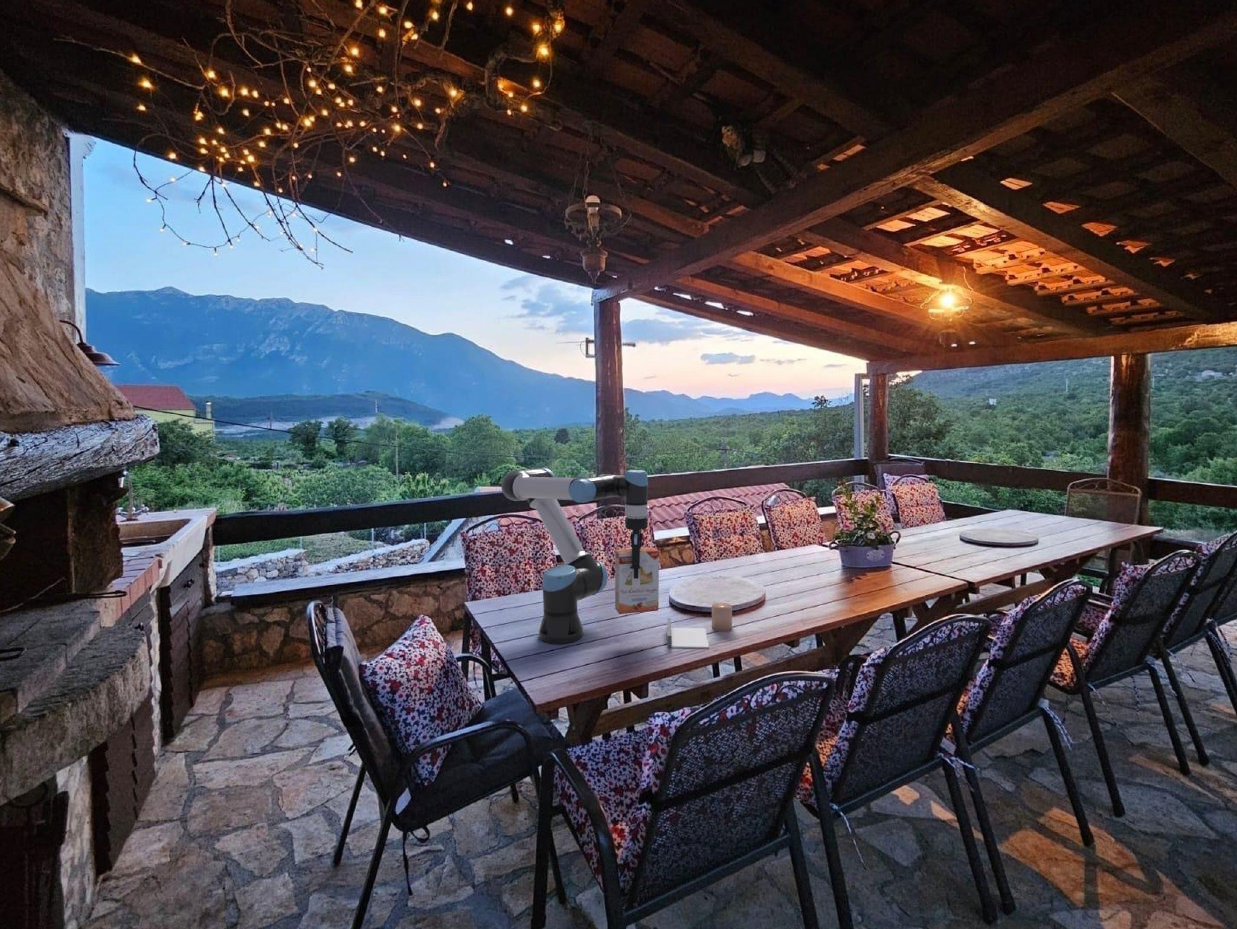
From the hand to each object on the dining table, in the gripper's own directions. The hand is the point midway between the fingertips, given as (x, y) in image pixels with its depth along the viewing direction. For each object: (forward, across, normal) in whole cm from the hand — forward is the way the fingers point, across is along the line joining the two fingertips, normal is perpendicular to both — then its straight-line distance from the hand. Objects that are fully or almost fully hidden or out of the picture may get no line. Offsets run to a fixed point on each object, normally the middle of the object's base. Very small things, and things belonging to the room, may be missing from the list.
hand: (636, 583), depth 186 cm
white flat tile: (+19, +1, -18) cm, 26 cm away
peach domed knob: (+19, +11, -30) cm, 37 cm away
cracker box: (+9, 0, 0) cm, 9 cm away
